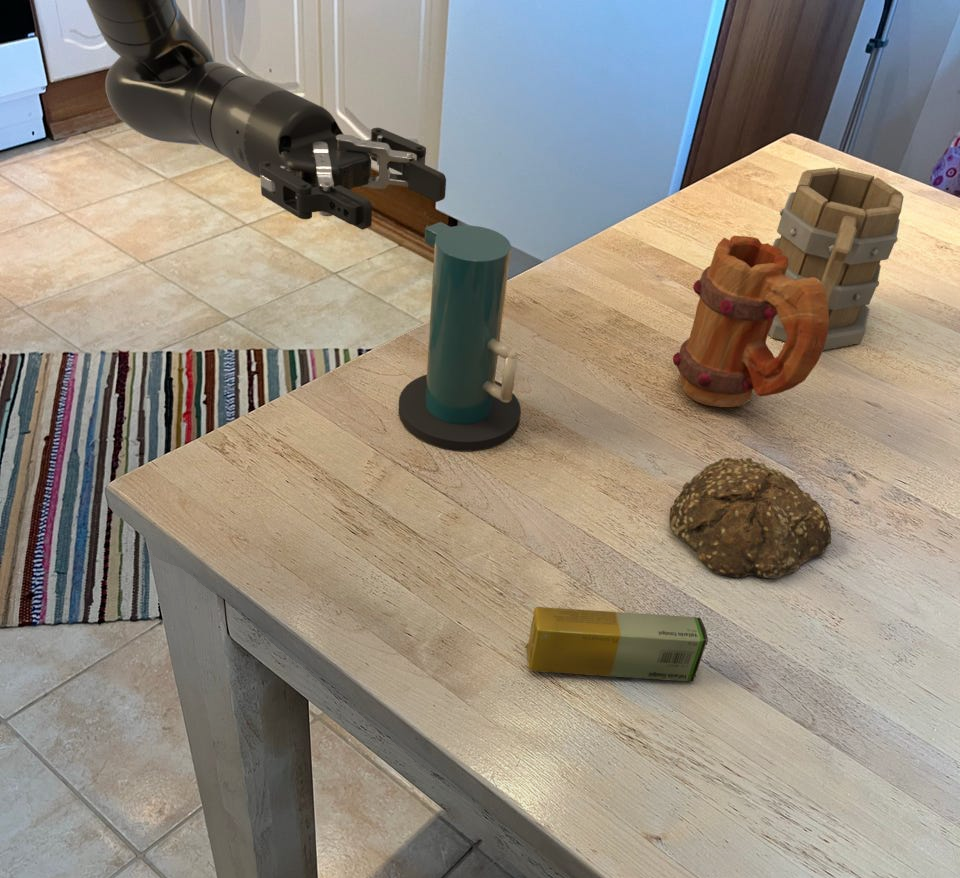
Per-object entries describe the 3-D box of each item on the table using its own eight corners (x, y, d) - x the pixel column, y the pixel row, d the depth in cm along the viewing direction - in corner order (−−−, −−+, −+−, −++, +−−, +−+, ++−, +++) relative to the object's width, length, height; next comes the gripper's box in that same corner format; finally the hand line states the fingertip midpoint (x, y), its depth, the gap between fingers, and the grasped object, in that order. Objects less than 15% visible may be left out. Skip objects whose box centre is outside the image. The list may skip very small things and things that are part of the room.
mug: (649, 374, 96) (687, 224, 85) (715, 360, 99) (760, 213, 88) (740, 461, 88) (795, 307, 77) (809, 442, 91) (871, 291, 80)
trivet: (383, 435, 86) (383, 426, 85) (416, 370, 93) (416, 361, 92) (506, 462, 85) (507, 452, 84) (529, 393, 92) (530, 384, 91)
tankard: (756, 279, 112) (800, 142, 101) (866, 307, 110) (923, 170, 99) (724, 363, 99) (770, 216, 88) (849, 397, 97) (912, 251, 86)
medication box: (688, 657, 71) (703, 615, 68) (696, 683, 69) (711, 641, 66) (524, 646, 70) (533, 603, 67) (527, 673, 68) (536, 629, 65)
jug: (400, 395, 88) (406, 232, 77) (445, 371, 91) (458, 212, 80) (482, 447, 84) (502, 283, 73) (527, 420, 87) (552, 259, 76)
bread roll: (729, 465, 87) (745, 418, 84) (845, 540, 82) (868, 493, 78) (635, 521, 81) (648, 472, 77) (754, 606, 75) (775, 559, 72)
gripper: (204, 107, 79) (341, 177, 73) (335, 74, 87) (469, 134, 81) (214, 200, 85) (342, 272, 78) (336, 161, 93) (462, 224, 86)
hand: (407, 202), depth 80 cm, fingers open, 8 cm apart
